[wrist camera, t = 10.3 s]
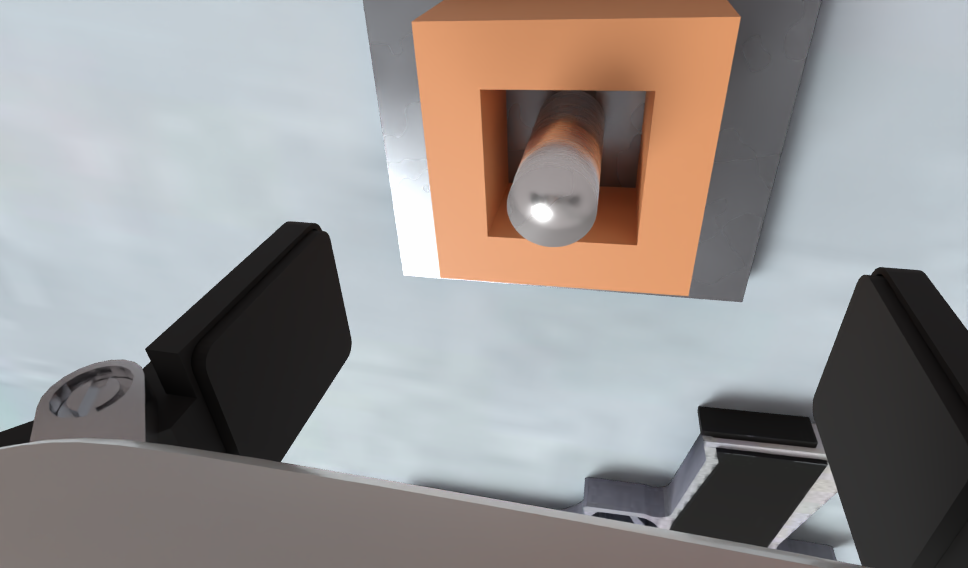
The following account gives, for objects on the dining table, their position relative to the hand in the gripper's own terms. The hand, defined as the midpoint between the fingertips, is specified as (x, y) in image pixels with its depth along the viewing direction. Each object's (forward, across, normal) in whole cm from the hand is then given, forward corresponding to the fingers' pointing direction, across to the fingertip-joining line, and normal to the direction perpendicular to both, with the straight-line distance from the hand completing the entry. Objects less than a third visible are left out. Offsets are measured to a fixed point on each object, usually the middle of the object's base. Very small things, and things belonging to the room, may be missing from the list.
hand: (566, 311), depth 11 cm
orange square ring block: (+8, +1, -1) cm, 8 cm away
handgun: (+11, -1, +17) cm, 20 cm away
